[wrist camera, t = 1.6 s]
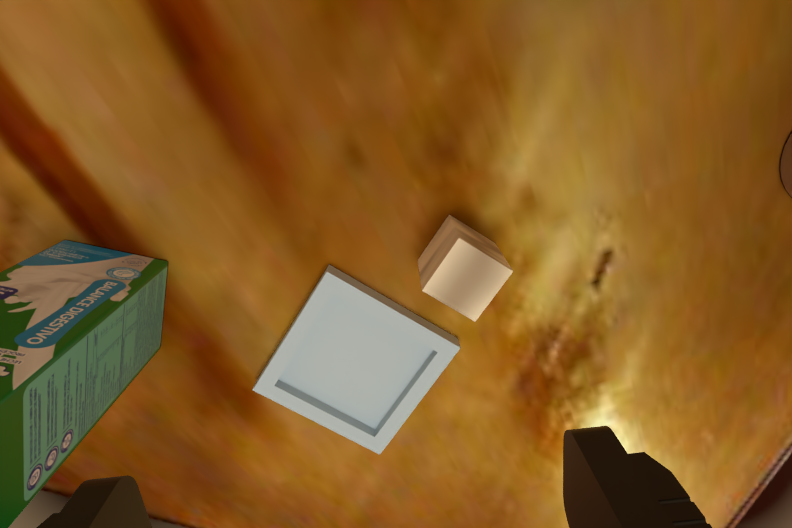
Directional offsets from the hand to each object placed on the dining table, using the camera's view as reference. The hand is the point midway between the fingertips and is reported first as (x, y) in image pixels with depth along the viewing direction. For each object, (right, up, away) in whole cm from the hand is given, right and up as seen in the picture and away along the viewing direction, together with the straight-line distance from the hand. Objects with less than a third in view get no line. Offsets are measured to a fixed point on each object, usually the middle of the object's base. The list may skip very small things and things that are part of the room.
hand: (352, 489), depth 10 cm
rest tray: (-3, -5, +40) cm, 41 cm away
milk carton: (-25, +1, +38) cm, 45 cm away
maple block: (+6, +5, +37) cm, 38 cm away
